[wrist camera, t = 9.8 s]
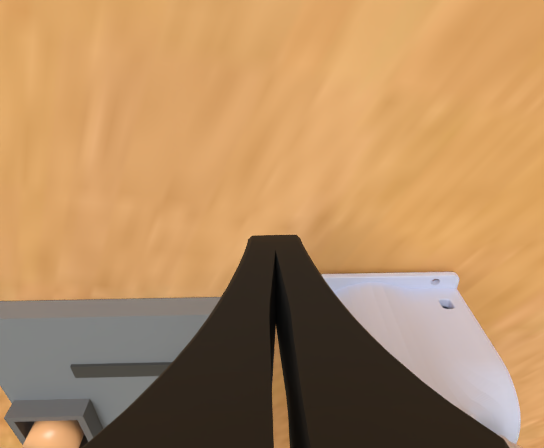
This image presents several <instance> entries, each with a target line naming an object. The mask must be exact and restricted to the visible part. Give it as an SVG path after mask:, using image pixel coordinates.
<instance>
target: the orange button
mask: <svg viewBox="0 0 544 448" xmlns="http://www.w3.org/2000/svg"><path fill="white" fill-rule="evenodd" d="M83 436H84V432H83V430H82V428H81V426H80V424H79V422H78V420H66V421H35V422H34V424H33V426H32V428H31V430H30V432H29V434H28V436H27V438H26V440H25V442H24V444H23V448H79V446H80V444H81V441H82V439H83Z"/></svg>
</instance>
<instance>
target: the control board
mask: <svg viewBox="0 0 544 448" xmlns="http://www.w3.org/2000/svg"><path fill="white" fill-rule="evenodd" d="M220 298H221V297H204V298H151V299H99V300H46V301H0V386H1V387H2V389H3V390H4V392H5V394H6V395H7V397H8V398H9V400H10V401H11V403H12V405H11V407H10V408H9V410H8V412H7V414H6V415H5V417H4V419H5V420H6V422H7V423H8V425H9V426H10V428H11V429H12V430H13V432H14V433H15V435H16V436H17V438H18V439H19V440H20V442H21V443H22V445H23V444H24V442H25V440H26V438H27V436H28V434H29V432H30V430H31V428H32V426H33V424H34V422H35V421H66V420H78V422H79V424H80V426H81V428H82V430H83V432H84V436H83V439H82V441H81V444H80V446H79V448H82V447H83V446H85V445H86V444H87V443H88V442H89V441H90V440H91V439H93V438H94V437H95V436H96V435H97V434H98V433H99V432H101V431H102V430H103V429H104V428H105V427H106V426H107V425H109V424H110V423H111V422H112V421H113V420H114V419H115V418H117V417H118V416H119V415H120V414H121V413H122V412H123V411H125V410H126V409H127V408H128V407H129V406H130V405H131V404H132V403H133V402H134V401H135V400H136V399H137V398H138V397H139V396H140V395H141V394H142V393H143V392H144V391H145V390H146V389H147V388H148V387H149V386H150V385H151V384H152V383H153V382H154V381H155V380H156V379H157V378H158V377H159V376H160V375H161V374H162V373H163V372H164V371H165V370H166V369H167V368H168V366H169V365H170V364H171V363H172V362H173V361H174V360H175V359H176V357H177V356H178V355H179V354H180V353H181V351H182V350H183V349H184V348H185V347H186V346H187V344H188V343H189V342H190V341H191V340H192V338H193V337H194V336H195V334H196V333H197V332H198V330H199V329H200V328H201V327H202V325H203V324H204V322H205V321H206V320H207V318H208V317H209V315H210V314H211V312H212V311H213V309H214V308H215V306H216V305H217V303H218V301H219V300H220Z"/></svg>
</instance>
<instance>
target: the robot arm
mask: <svg viewBox="0 0 544 448" xmlns="http://www.w3.org/2000/svg"><path fill="white" fill-rule="evenodd" d="M434 279H436V280H434ZM432 280H434V281H432ZM458 283H459V277H458V275H457V274H456V273H455V272H411V273H355V274H320V273H319V271H318V270H317V268H316V266H315V265H314V263H313V262H312V260H311V258H310V257H309V255H308V253H307V252H306V250H305V248H304V246H303V244H302V242H301V239H300V238H299V237H298V236H297V235H264V236H251V237H250V238H249V239H248V243H247V246H246V249H245V252H244V255H243V257H242V259H241V261H240V264H239V266H238V268H237V270H236V272H235V274H234V276H233V277H232V279H231V281H230V283H229V285H228V287H227V289H226V290H225V292H224V293H223V295H222V297H221V298H220V300H219V301H218V303H217V305H216V306H215V308H214V309H213V311H212V312H211V314H210V315H209V317H208V318H207V320H206V321H205V322H204V324H203V325H202V327H201V328H200V329H199V330H198V332H197V333H196V334H195V336H194V337H193V338H192V340H191V341H190V342H189V343H188V344H187V346H186V347H185V348H184V349H183V350H182V351H181V353H180V354H179V355H178V356H177V357H176V359H175V360H174V361H173V362H172V363H171V364H170V365H169V366H168V368H167V369H166V370H165V371H164V372H163V373H162V374H161V375H160V376H159V377H158V378H157V379H156V380H155V381H154V382H153V383H152V384H151V385H150V386H149V387H148V388H147V389H146V390H145V391H144V392H143V393H142V394H141V395H140V396H139V397H138V398H137V399H136V400H135V401H134V402H133V403H132V404H131V405H130V406H129V407H128V408H127V409H126V410H125V411H123V412H122V413H121V414H120V415H119V416H118V417H117V418H115V419H114V420H113V421H112V422H111V423H110V424H109V425H107V426H106V427H105V428H104V429H103V430H102V431H101V432H99V433H98V434H97V435H96V436H95V437H94V438H93V439H91V440H90V441H89V442H88V443H87V444H86V445H85V446H83V447H82V448H274V443H273V415H272V377H273V360H274V344H275V327H276V328H277V335H278V342H279V349H280V356H281V362H282V369H283V376H284V383H285V390H286V397H287V407H288V419H289V437H290V448H522V447H520V446H519V445H517V444H516V443H517V440H518V437H519V432H520V421H521V420H520V408H519V403H518V398H517V394H516V391H515V387H514V384H513V382H512V379H511V376H510V374H509V372H508V370H507V368H506V366H505V364H504V362H503V361H502V359H501V357H500V356H499V354H498V353H497V351H496V350H495V348H494V346H493V345H492V343H491V342H490V340H489V339H488V337H487V335H486V334H485V332H484V331H483V329H482V328H481V326H480V324H479V323H478V321H477V320H476V318H475V317H474V315H473V313H472V312H471V310H470V309H469V307H468V306H467V304H466V302H465V301H464V299H463V298H462V296H461V295H460V293H459V291H458V290H457V286H458Z"/></svg>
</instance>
